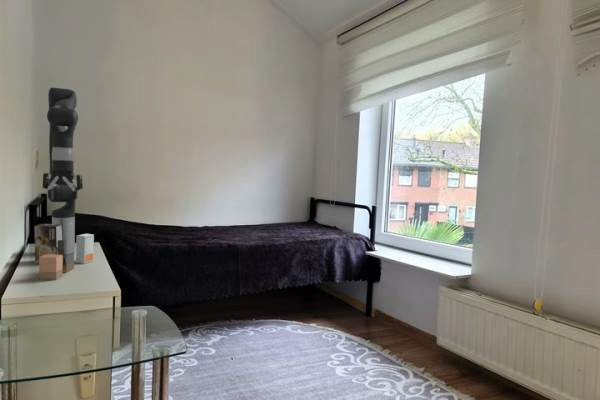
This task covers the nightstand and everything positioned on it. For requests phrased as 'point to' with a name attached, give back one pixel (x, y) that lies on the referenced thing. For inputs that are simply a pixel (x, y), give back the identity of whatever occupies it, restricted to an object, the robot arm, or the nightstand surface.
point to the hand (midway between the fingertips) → (62, 199)
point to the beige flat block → (62, 249)
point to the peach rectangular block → (50, 267)
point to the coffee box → (47, 239)
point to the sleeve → (68, 263)
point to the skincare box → (84, 248)
